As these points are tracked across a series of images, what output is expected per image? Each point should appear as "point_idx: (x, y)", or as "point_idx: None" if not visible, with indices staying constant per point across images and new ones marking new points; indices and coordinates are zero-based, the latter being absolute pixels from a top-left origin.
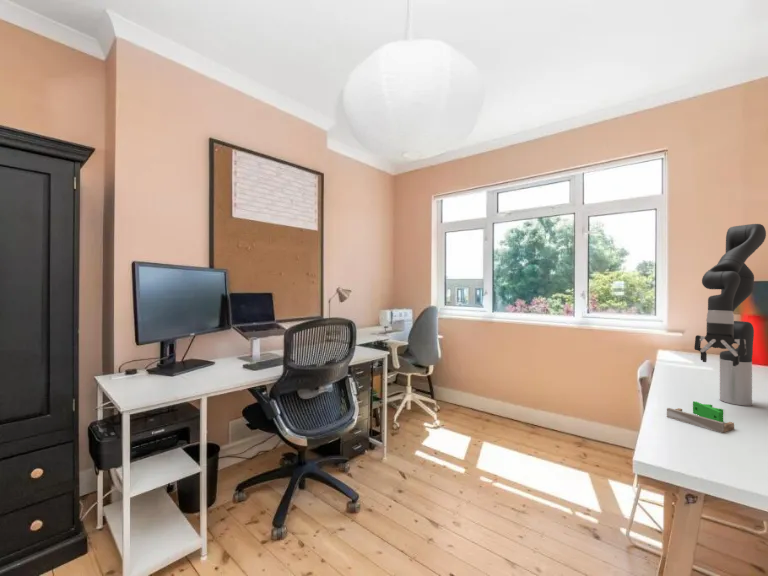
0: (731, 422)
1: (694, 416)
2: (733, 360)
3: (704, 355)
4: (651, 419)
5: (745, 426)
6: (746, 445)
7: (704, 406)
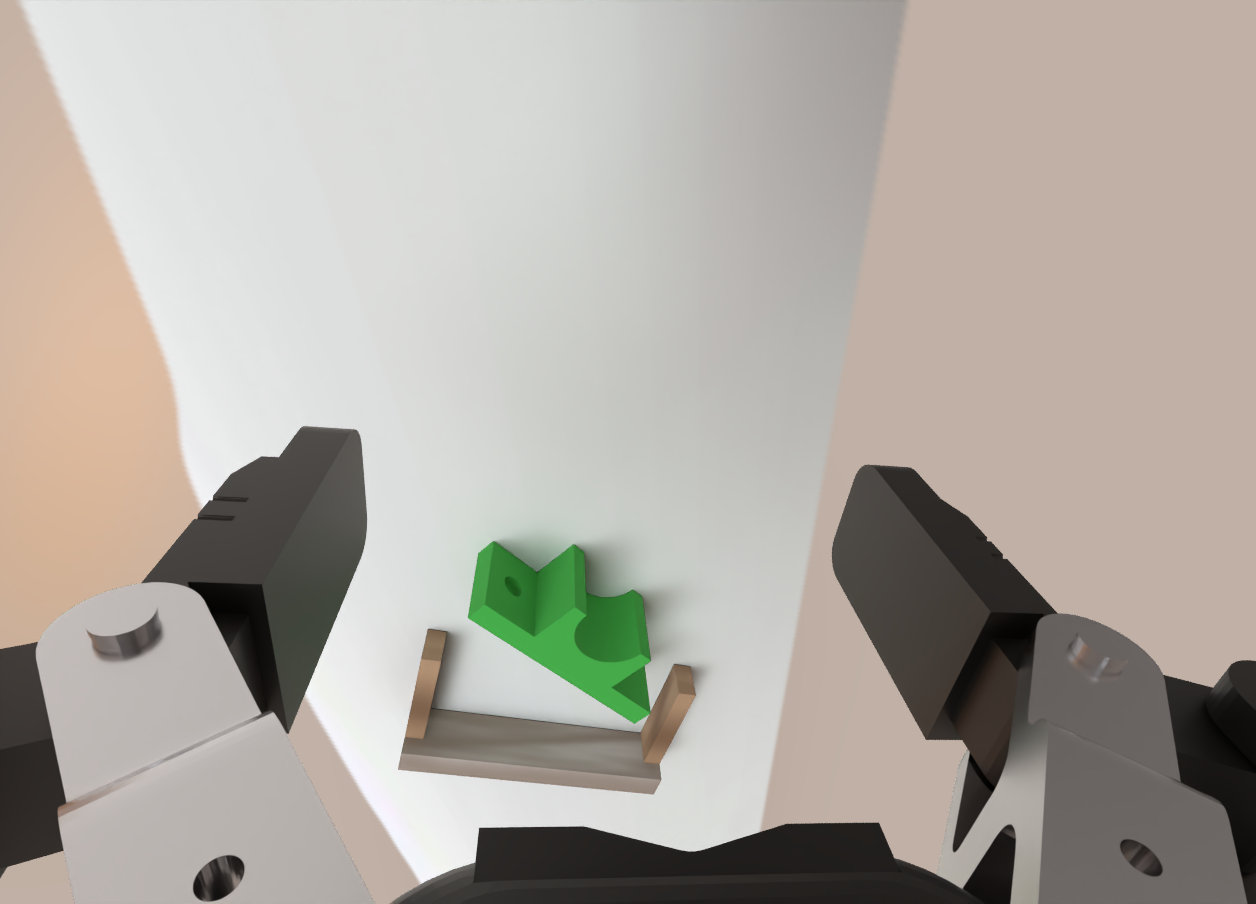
0: (684, 699)
1: (539, 781)
2: (885, 649)
3: (303, 664)
4: (381, 796)
5: (738, 586)
6: (724, 801)
7: (552, 669)
